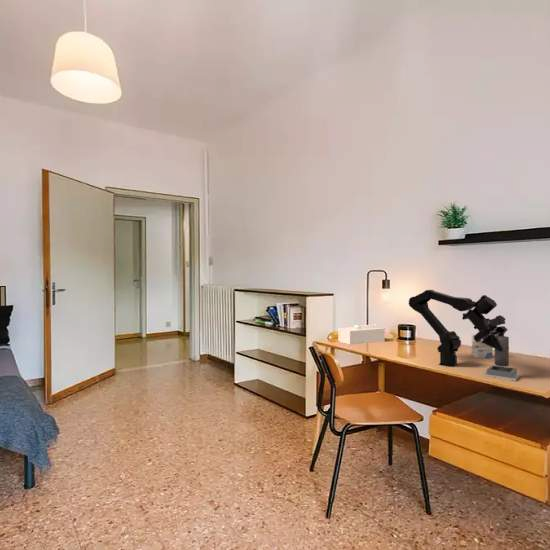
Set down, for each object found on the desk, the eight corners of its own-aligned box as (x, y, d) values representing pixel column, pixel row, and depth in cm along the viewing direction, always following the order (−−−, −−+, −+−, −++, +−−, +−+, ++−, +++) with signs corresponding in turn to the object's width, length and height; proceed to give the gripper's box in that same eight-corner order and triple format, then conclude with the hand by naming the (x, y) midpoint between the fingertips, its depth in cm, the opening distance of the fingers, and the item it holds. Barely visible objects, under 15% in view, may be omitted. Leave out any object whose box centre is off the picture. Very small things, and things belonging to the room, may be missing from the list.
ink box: (487, 355, 207) (487, 333, 207) (492, 358, 202) (492, 335, 202) (471, 356, 207) (471, 333, 206) (476, 358, 202) (476, 335, 201)
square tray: (483, 376, 168) (482, 369, 168) (489, 371, 176) (489, 364, 176) (515, 381, 160) (515, 373, 160) (520, 375, 168) (520, 368, 168)
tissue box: (338, 341, 255) (338, 324, 255) (371, 338, 264) (371, 322, 263) (350, 345, 241) (350, 327, 241) (384, 342, 250) (384, 324, 250)
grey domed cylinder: (491, 364, 169) (491, 336, 169) (500, 362, 172) (500, 335, 171) (503, 366, 165) (503, 338, 165) (511, 365, 167) (511, 337, 167)
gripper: (480, 310, 166) (508, 341, 157) (503, 308, 176) (530, 336, 167) (462, 327, 172) (488, 357, 163) (485, 323, 183) (510, 351, 174)
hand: (505, 349), depth 167 cm, fingers closed on grey domed cylinder, 5 cm apart
